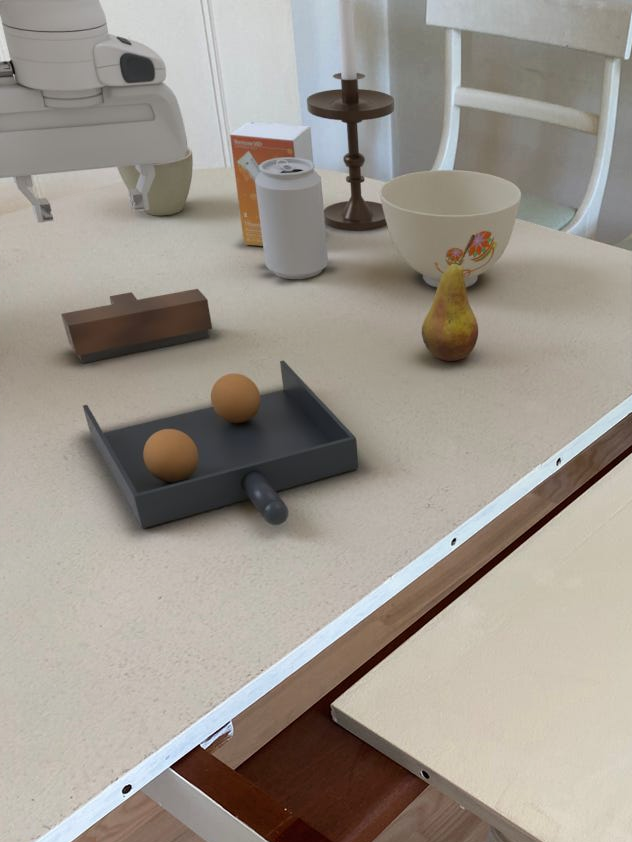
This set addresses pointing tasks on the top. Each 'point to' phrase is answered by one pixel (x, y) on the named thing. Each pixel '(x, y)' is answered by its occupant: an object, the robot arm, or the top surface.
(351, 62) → the candlestick
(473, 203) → the bowl
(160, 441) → the ball left
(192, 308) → the brush
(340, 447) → the dustpan
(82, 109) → the robot arm
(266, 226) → the can
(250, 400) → the ball right
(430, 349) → the fruit
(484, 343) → the top surface
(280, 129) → the small box
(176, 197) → the flower pot
